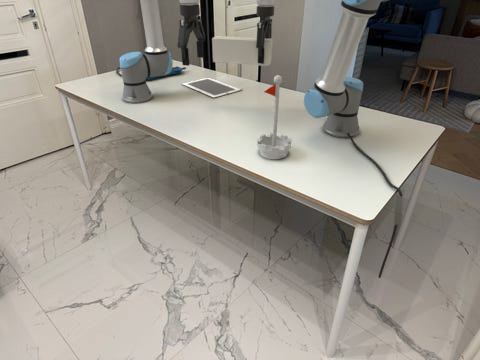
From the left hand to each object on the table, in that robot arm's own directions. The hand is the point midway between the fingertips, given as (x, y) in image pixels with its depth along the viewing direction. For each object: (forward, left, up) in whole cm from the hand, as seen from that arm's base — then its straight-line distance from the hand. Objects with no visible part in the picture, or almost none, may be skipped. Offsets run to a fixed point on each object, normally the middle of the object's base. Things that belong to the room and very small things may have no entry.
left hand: (193, 61), depth 141 cm
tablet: (-33, +42, -28) cm, 60 cm away
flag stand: (+43, 0, -28) cm, 51 cm away
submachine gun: (-79, +39, -28) cm, 93 cm away
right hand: (+12, +32, -4) cm, 34 cm away
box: (+3, +28, -5) cm, 28 cm away
